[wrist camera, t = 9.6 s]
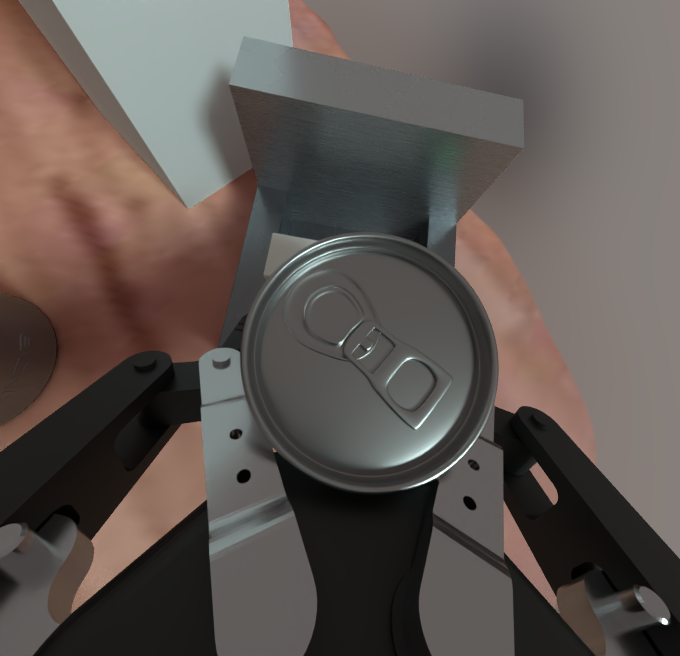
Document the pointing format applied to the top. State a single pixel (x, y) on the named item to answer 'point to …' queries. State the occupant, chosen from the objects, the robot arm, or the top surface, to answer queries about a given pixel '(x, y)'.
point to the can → (369, 363)
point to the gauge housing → (360, 153)
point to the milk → (166, 77)
